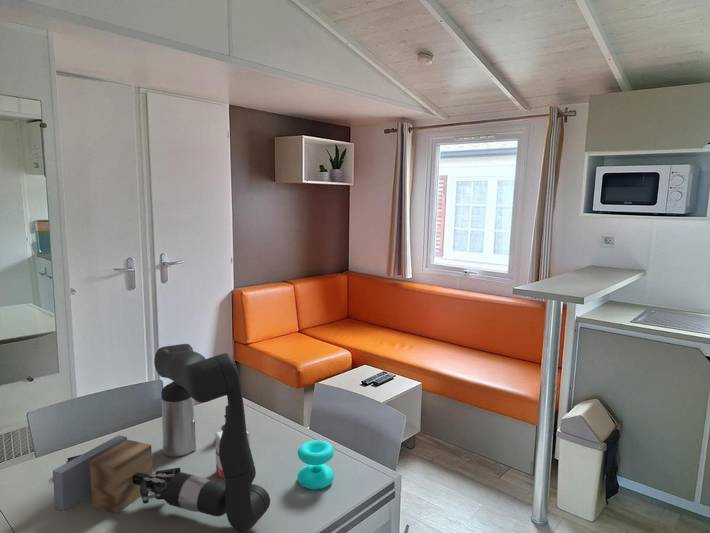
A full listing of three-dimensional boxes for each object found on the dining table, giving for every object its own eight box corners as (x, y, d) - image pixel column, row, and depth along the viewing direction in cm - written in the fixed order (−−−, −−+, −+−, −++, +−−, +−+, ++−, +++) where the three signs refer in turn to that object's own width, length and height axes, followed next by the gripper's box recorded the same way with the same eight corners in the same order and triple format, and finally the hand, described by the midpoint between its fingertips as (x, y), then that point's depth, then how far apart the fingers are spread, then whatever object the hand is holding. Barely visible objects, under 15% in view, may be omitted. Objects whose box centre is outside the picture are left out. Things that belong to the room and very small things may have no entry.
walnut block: (152, 487, 127) (151, 444, 125) (116, 513, 116) (114, 467, 114) (129, 481, 129) (127, 439, 128) (92, 506, 118) (89, 461, 117)
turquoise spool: (317, 434, 137) (341, 447, 130) (317, 467, 138) (341, 481, 131) (290, 446, 130) (314, 460, 123) (290, 481, 131) (314, 496, 124)
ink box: (221, 479, 131) (220, 439, 129) (215, 471, 135) (214, 432, 133) (250, 470, 135) (250, 431, 134) (244, 463, 139) (243, 425, 138)
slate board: (128, 470, 135) (126, 436, 134) (63, 511, 116) (61, 473, 115) (120, 467, 136) (118, 434, 135) (55, 508, 117) (52, 470, 116)
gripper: (207, 464, 120) (153, 451, 126) (171, 492, 108) (113, 477, 114) (208, 491, 121) (154, 477, 127) (172, 523, 109) (114, 506, 115)
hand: (135, 477), depth 120 cm, fingers closed
